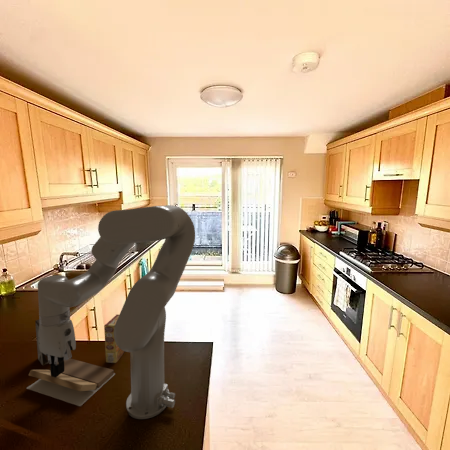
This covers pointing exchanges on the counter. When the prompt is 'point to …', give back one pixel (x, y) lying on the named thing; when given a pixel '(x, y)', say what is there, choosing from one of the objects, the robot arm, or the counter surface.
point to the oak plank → (64, 380)
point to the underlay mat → (63, 392)
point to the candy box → (111, 342)
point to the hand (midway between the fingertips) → (57, 373)
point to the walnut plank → (87, 371)
